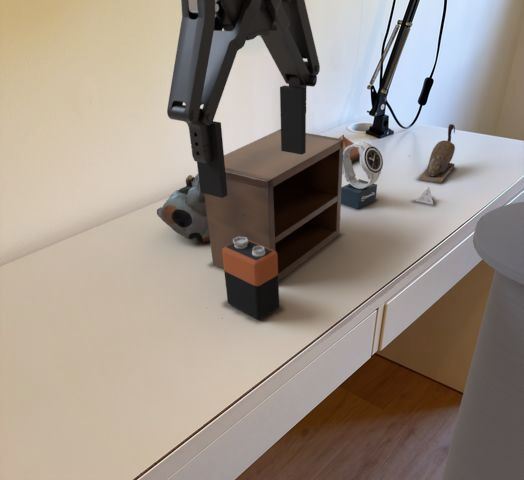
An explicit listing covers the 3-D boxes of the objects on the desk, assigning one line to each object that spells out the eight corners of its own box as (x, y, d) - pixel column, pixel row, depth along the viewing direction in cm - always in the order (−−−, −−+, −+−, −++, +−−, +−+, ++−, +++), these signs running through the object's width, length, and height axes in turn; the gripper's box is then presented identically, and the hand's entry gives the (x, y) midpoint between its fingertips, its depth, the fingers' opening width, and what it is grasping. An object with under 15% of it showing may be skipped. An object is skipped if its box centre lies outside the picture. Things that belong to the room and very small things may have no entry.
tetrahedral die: (437, 204, 102) (441, 188, 101) (433, 204, 99) (437, 188, 98) (419, 201, 103) (423, 185, 102) (415, 201, 101) (419, 185, 100)
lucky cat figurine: (197, 206, 104) (226, 142, 96) (240, 243, 101) (273, 180, 93) (142, 213, 92) (169, 140, 84) (189, 255, 89) (221, 184, 81)
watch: (365, 211, 99) (370, 152, 92) (333, 200, 103) (335, 143, 97) (384, 202, 101) (390, 144, 95) (351, 192, 106) (354, 135, 99)
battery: (247, 291, 79) (243, 230, 73) (281, 308, 75) (278, 245, 69) (226, 304, 77) (219, 241, 70) (259, 322, 73) (255, 257, 66)
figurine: (439, 158, 118) (445, 118, 113) (459, 161, 116) (467, 120, 111) (419, 180, 109) (425, 136, 104) (440, 183, 107) (448, 139, 102)
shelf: (339, 234, 92) (343, 139, 82) (272, 285, 80) (267, 181, 70) (283, 219, 98) (281, 128, 88) (212, 265, 86) (200, 165, 76)
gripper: (291, -98, 50) (293, 133, 63) (82, -98, 35) (142, 207, 48) (361, -104, 47) (348, 142, 60) (163, -107, 31) (204, 225, 44)
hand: (256, 171), depth 54 cm, fingers open, 13 cm apart
